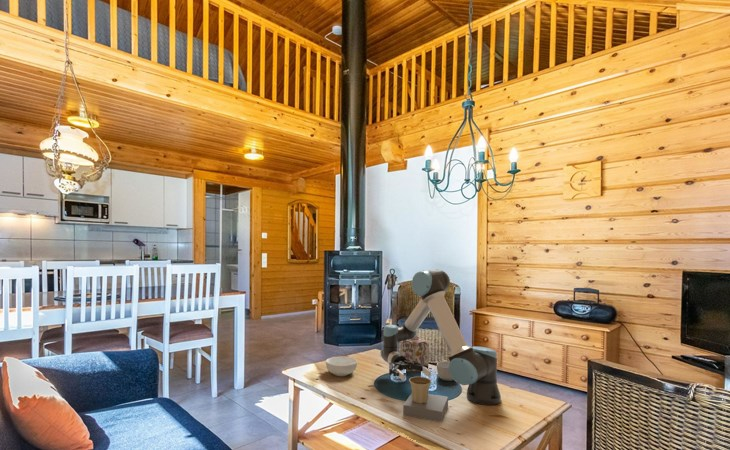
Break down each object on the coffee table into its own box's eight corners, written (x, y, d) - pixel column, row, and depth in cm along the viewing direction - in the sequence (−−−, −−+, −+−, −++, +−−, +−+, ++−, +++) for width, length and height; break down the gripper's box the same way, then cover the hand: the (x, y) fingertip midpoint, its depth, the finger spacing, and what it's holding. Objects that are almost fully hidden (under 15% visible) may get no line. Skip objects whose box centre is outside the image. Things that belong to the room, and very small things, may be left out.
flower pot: (429, 396, 168) (429, 376, 169) (432, 405, 159) (433, 384, 159) (407, 396, 168) (408, 376, 169) (410, 405, 159) (410, 384, 159)
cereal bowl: (363, 374, 206) (363, 361, 206) (339, 381, 195) (339, 367, 195) (342, 366, 218) (343, 353, 219) (319, 373, 207) (319, 359, 207)
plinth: (447, 406, 168) (448, 396, 168) (441, 421, 153) (441, 411, 153) (412, 400, 174) (412, 391, 174) (403, 414, 159) (403, 405, 159)
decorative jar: (400, 366, 221) (400, 334, 221) (414, 362, 228) (415, 332, 228) (414, 372, 211) (415, 339, 212) (429, 368, 218) (429, 336, 219)
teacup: (457, 383, 195) (458, 367, 195) (436, 381, 197) (436, 366, 197) (456, 374, 209) (457, 359, 209) (436, 372, 211) (436, 358, 211)
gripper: (419, 366, 197) (440, 381, 177) (374, 371, 189) (391, 386, 169) (419, 351, 197) (440, 364, 177) (374, 355, 189) (391, 369, 169)
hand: (416, 375), depth 173 cm, fingers open, 13 cm apart
